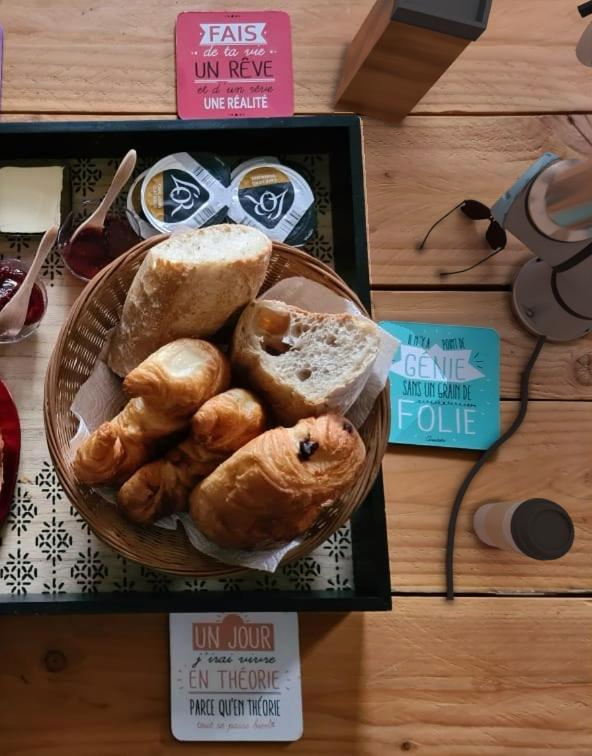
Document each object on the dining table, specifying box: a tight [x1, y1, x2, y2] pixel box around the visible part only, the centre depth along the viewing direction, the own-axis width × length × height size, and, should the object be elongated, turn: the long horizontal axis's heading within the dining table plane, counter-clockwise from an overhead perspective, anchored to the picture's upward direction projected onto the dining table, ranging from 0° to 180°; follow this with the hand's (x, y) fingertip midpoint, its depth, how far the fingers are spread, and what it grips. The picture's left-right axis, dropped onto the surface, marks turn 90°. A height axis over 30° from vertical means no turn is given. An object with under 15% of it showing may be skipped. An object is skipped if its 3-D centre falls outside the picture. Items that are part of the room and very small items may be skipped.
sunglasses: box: [419, 198, 508, 276], centre depth 125 cm, size 10×12×5 cm
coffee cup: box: [472, 497, 575, 562], centre depth 112 cm, size 9×9×15 cm
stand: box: [333, 0, 473, 125], centre depth 118 cm, size 12×12×25 cm
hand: (586, 40), depth 105 cm, fingers closed on cup, 8 cm apart
